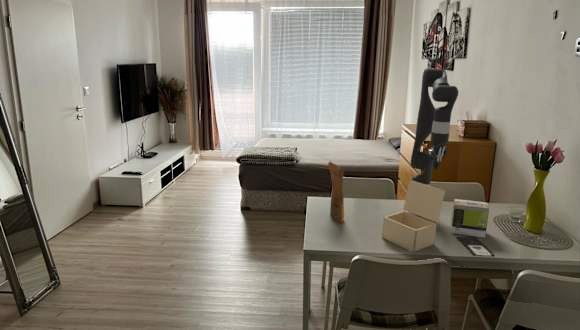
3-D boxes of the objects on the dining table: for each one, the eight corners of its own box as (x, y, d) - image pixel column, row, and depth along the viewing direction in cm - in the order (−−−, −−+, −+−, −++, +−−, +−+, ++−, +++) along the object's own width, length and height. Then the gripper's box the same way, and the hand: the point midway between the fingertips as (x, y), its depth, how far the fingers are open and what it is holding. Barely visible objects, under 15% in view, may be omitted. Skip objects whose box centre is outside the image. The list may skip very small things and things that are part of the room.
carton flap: (403, 209, 201) (404, 209, 201) (437, 222, 186) (438, 222, 187) (409, 179, 198) (410, 179, 199) (444, 190, 184) (445, 190, 184)
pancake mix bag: (333, 224, 208) (336, 169, 201) (324, 210, 226) (327, 159, 219) (346, 224, 209) (350, 169, 202) (337, 210, 227) (340, 159, 220)
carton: (401, 230, 203) (403, 211, 201) (434, 244, 189) (436, 223, 187) (381, 237, 195) (383, 217, 193) (413, 252, 181) (416, 230, 179)
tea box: (483, 230, 207) (487, 201, 203) (485, 238, 197) (490, 208, 194) (450, 226, 211) (454, 197, 207) (450, 233, 202) (454, 204, 198)
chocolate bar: (475, 237, 198) (494, 254, 180) (475, 239, 198) (494, 257, 180) (456, 236, 197) (473, 254, 180) (456, 238, 198) (473, 256, 180)
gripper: (442, 128, 195) (437, 165, 200) (424, 131, 188) (419, 169, 192) (456, 131, 190) (451, 169, 194) (438, 134, 182) (434, 173, 186)
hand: (435, 169), depth 193 cm, fingers closed
